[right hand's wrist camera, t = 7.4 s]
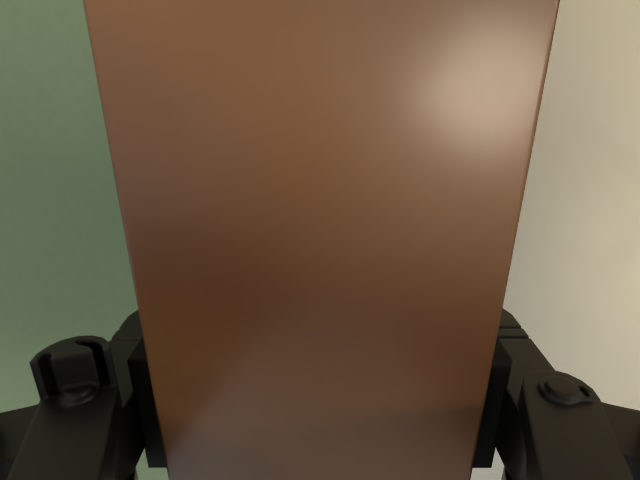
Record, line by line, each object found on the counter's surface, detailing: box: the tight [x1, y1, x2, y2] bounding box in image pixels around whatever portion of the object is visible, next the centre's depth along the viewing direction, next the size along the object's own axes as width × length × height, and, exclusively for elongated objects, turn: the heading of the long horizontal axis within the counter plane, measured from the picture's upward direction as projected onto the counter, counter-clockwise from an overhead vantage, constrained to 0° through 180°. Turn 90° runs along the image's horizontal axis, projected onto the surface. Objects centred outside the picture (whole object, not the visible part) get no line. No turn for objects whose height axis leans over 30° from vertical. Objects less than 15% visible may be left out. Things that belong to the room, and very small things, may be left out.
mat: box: [0, 0, 169, 480], centre depth 22 cm, size 14×36×1 cm, turn 0°
